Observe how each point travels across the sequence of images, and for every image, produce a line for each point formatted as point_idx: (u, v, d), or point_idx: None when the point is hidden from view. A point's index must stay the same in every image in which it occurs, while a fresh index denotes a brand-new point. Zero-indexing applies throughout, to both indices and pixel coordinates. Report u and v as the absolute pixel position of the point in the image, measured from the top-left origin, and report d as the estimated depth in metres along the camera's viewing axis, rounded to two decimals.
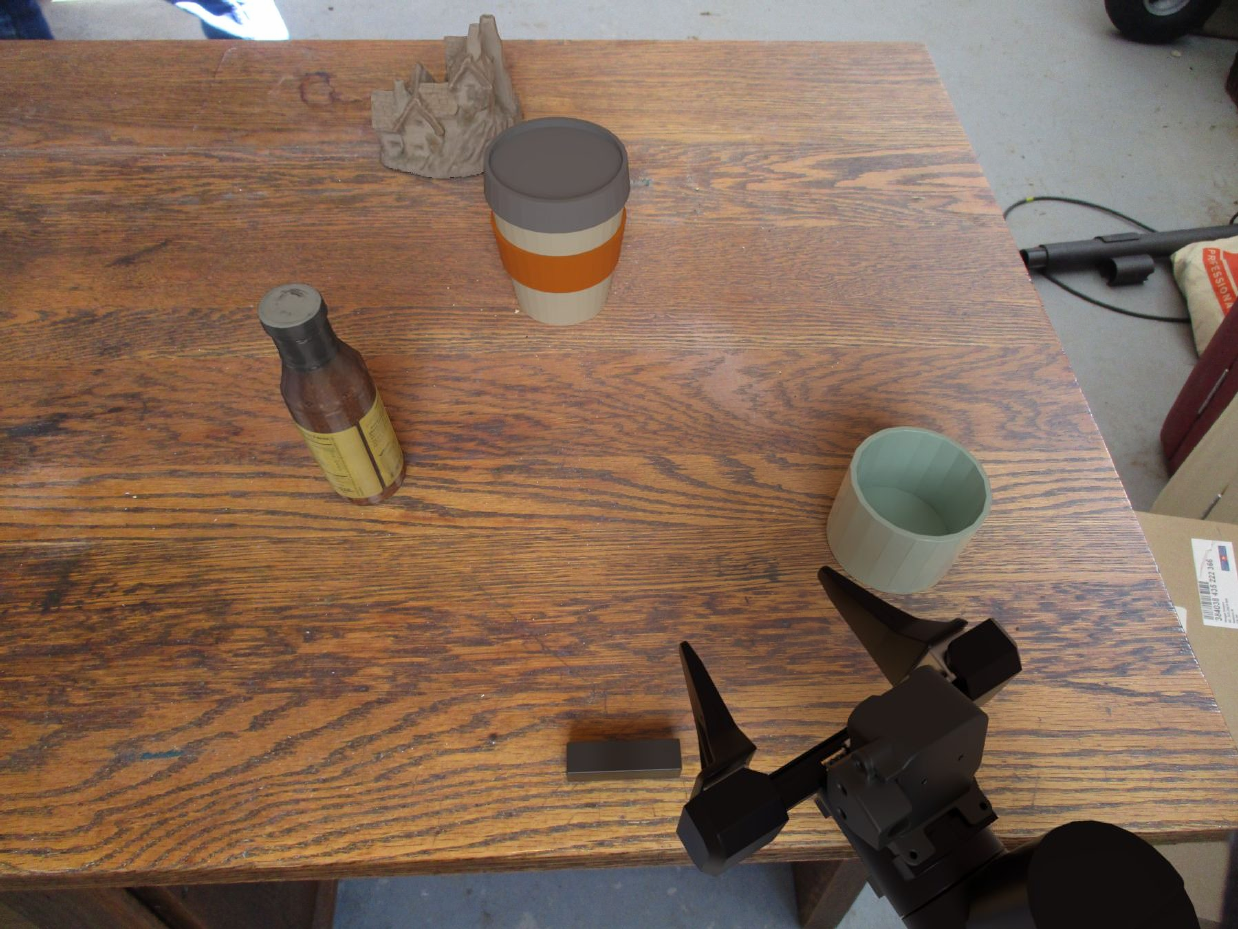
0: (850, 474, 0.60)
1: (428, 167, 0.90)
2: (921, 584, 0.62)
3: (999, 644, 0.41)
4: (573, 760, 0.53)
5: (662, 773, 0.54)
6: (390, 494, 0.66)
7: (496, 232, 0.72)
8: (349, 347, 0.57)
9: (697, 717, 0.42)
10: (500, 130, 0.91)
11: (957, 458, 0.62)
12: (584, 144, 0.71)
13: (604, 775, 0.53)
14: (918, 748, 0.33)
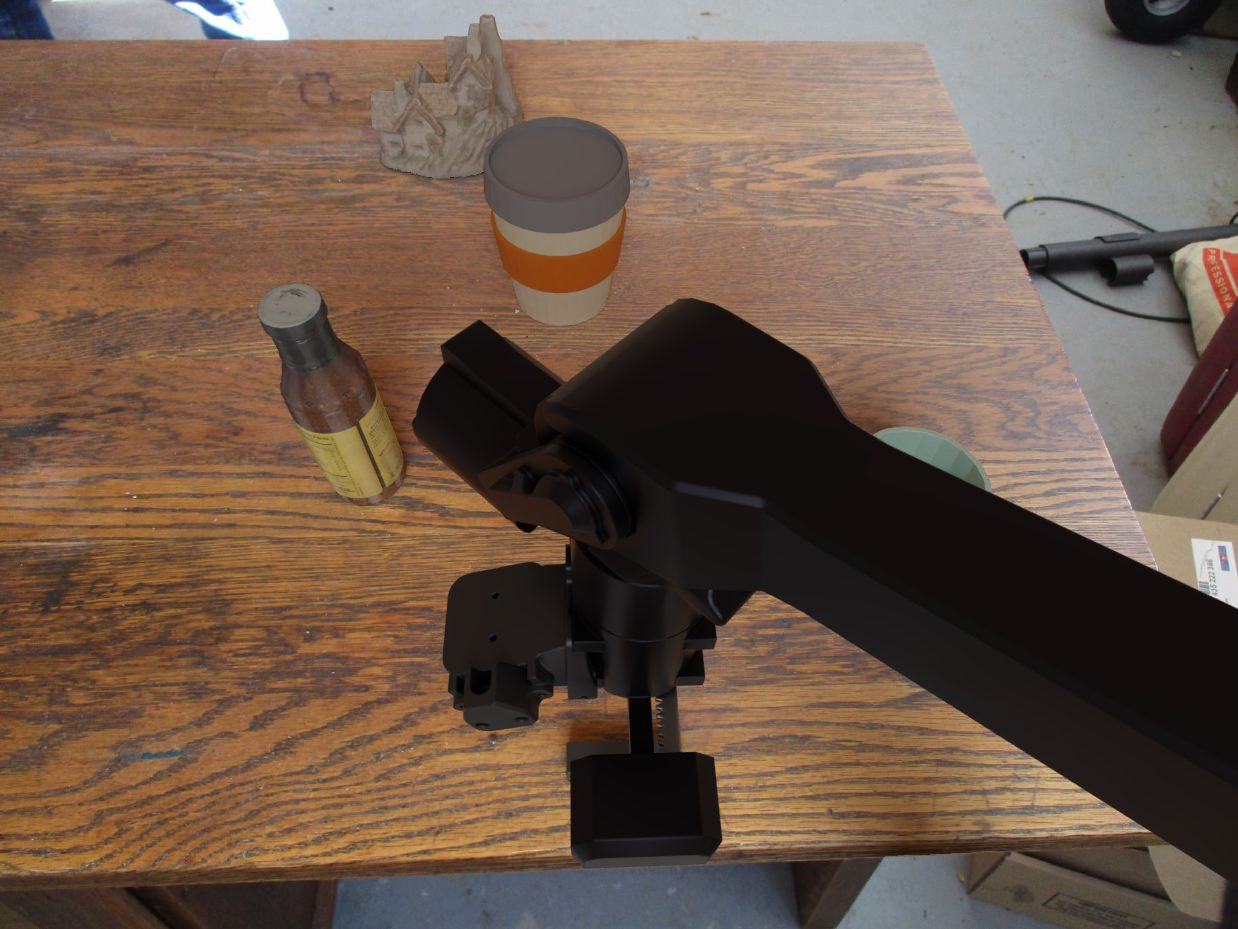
0: None
1: (428, 167, 0.90)
2: None
3: None
4: None
5: None
6: (390, 494, 0.66)
7: (496, 232, 0.72)
8: (349, 347, 0.57)
9: None
10: (500, 130, 0.91)
11: (957, 458, 0.62)
12: (584, 144, 0.71)
13: None
14: (444, 655, 0.36)
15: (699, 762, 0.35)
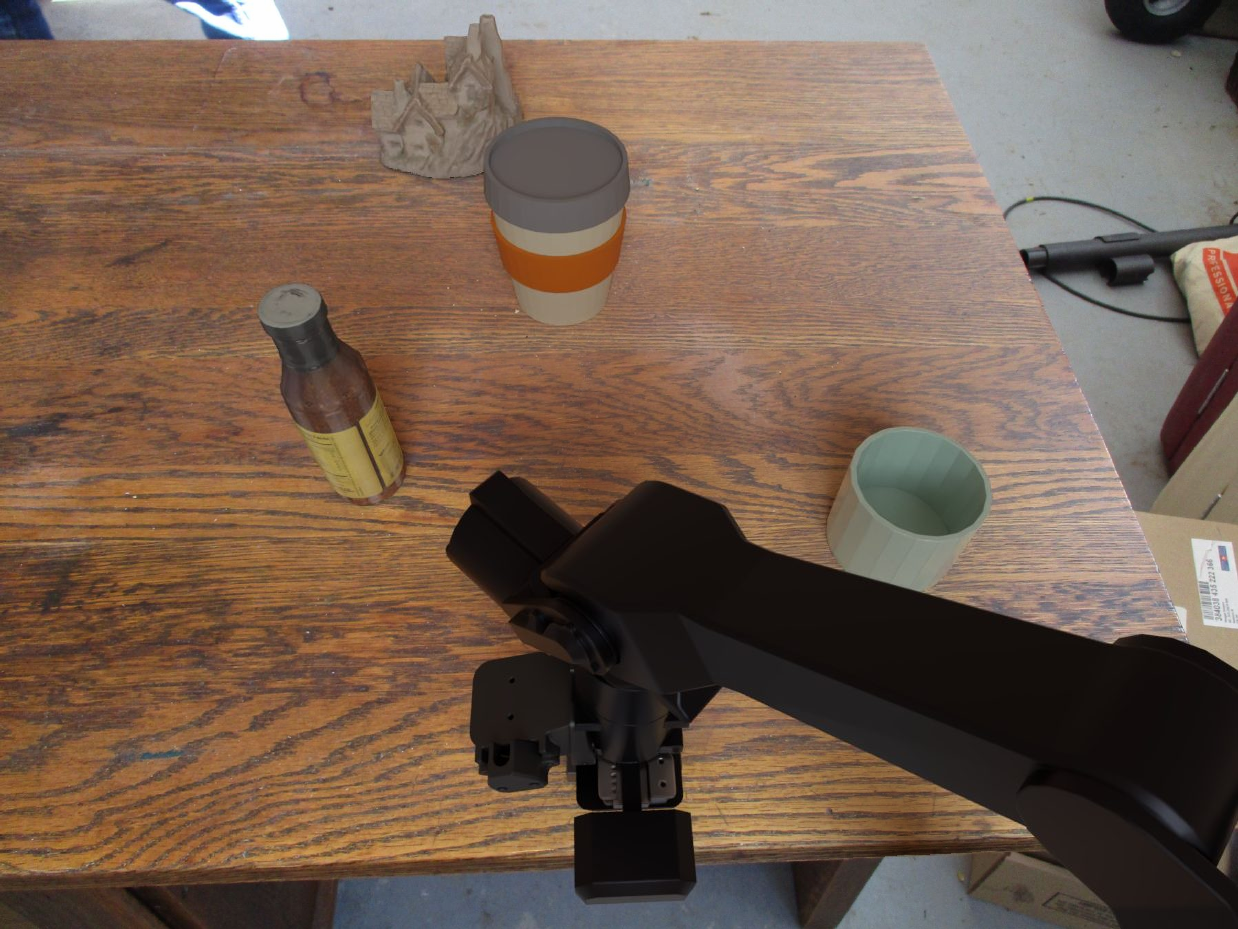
0: (850, 474, 0.60)
1: (428, 167, 0.90)
2: (921, 584, 0.62)
3: None
4: None
5: None
6: (390, 494, 0.66)
7: (496, 232, 0.72)
8: (349, 347, 0.57)
9: None
10: (500, 130, 0.91)
11: (957, 458, 0.62)
12: (584, 144, 0.71)
13: None
14: (470, 730, 0.44)
15: (678, 818, 0.43)
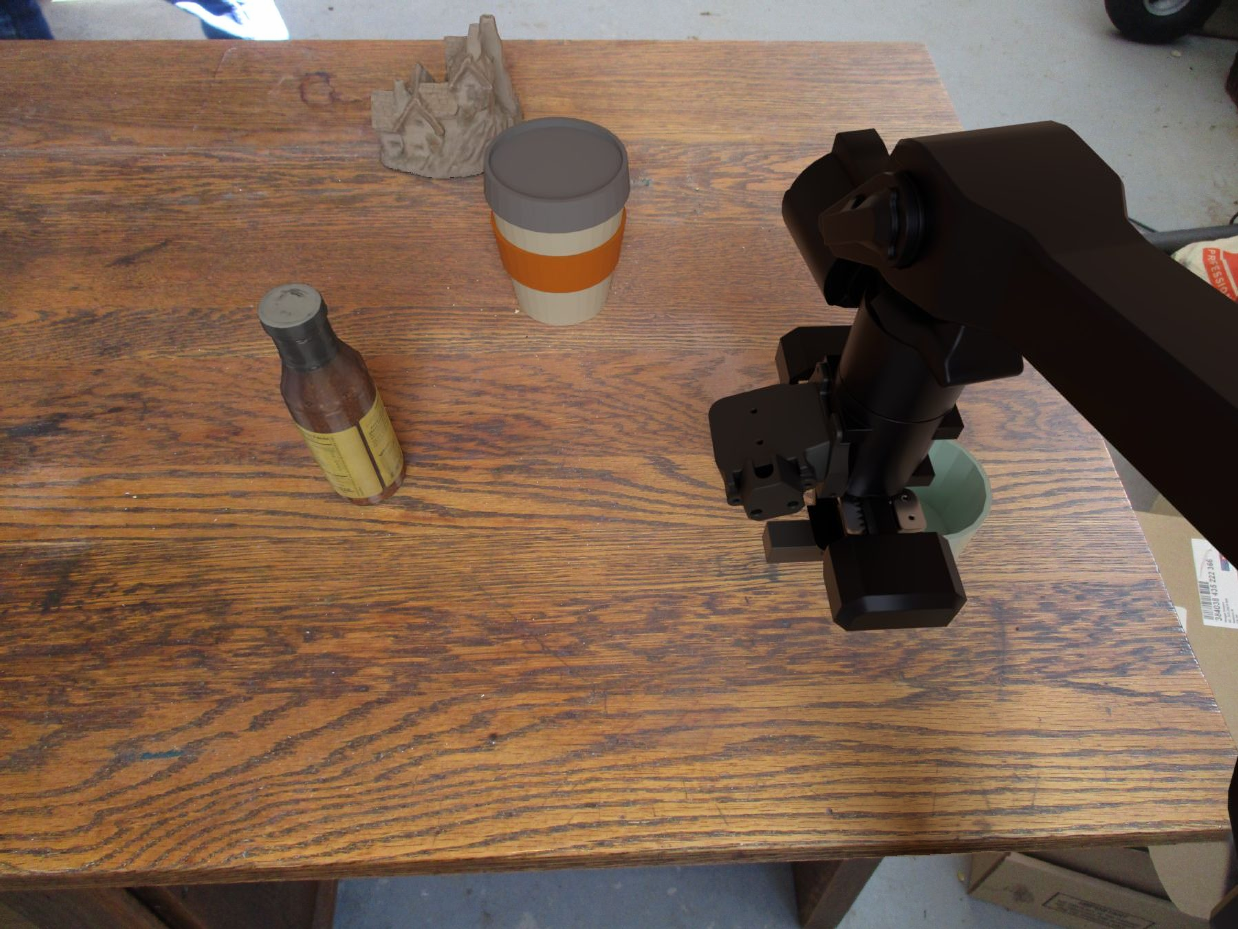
0: None
1: (428, 167, 0.90)
2: None
3: (780, 350, 0.50)
4: (777, 536, 0.51)
5: None
6: (390, 494, 0.66)
7: (496, 232, 0.72)
8: (349, 347, 0.57)
9: None
10: (500, 130, 0.91)
11: (957, 458, 0.62)
12: (584, 144, 0.71)
13: (808, 552, 0.52)
14: (715, 460, 0.42)
15: (940, 540, 0.41)
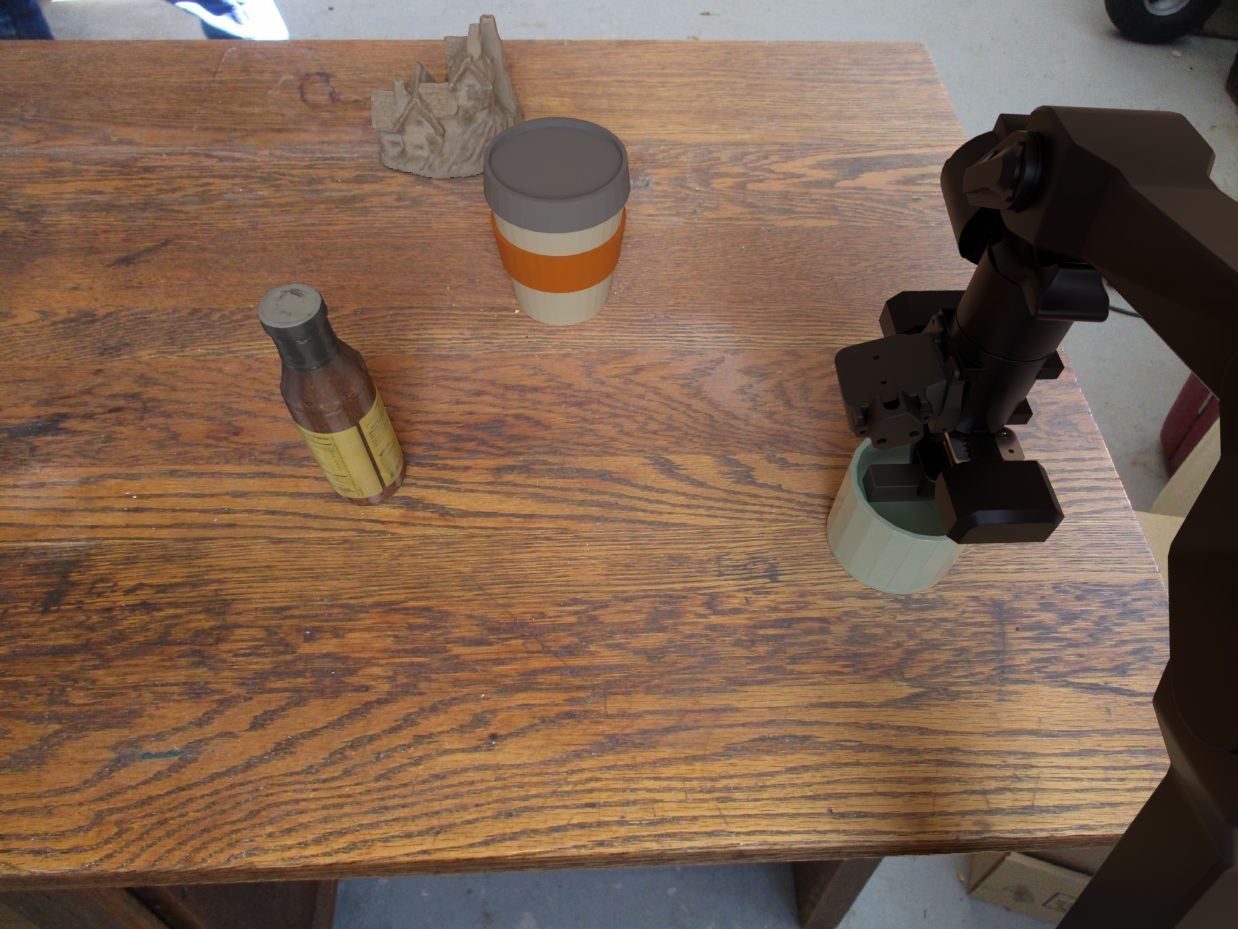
0: (850, 474, 0.60)
1: (428, 167, 0.90)
2: (921, 584, 0.62)
3: (885, 312, 0.57)
4: (879, 476, 0.58)
5: None
6: (390, 494, 0.66)
7: (496, 232, 0.72)
8: (349, 347, 0.57)
9: None
10: (500, 130, 0.91)
11: None
12: (584, 144, 0.71)
13: (906, 492, 0.58)
14: (843, 398, 0.49)
15: (1040, 467, 0.48)
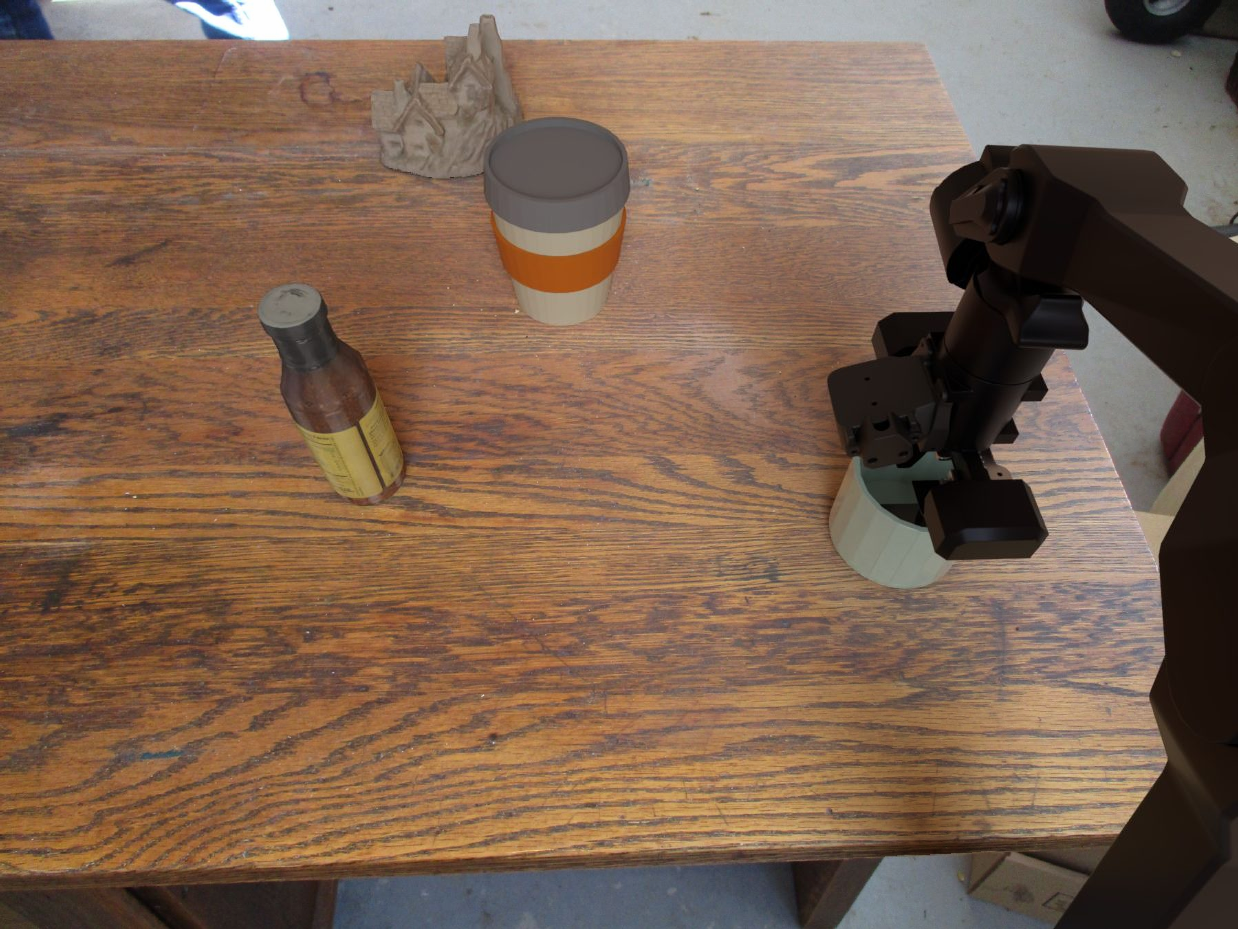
0: (853, 466, 0.59)
1: (428, 167, 0.90)
2: (925, 578, 0.61)
3: (877, 332, 0.58)
4: None
5: None
6: (390, 494, 0.66)
7: (496, 232, 0.72)
8: (349, 347, 0.57)
9: None
10: (500, 130, 0.91)
11: None
12: (584, 144, 0.71)
13: None
14: (835, 418, 0.51)
15: (1025, 485, 0.49)
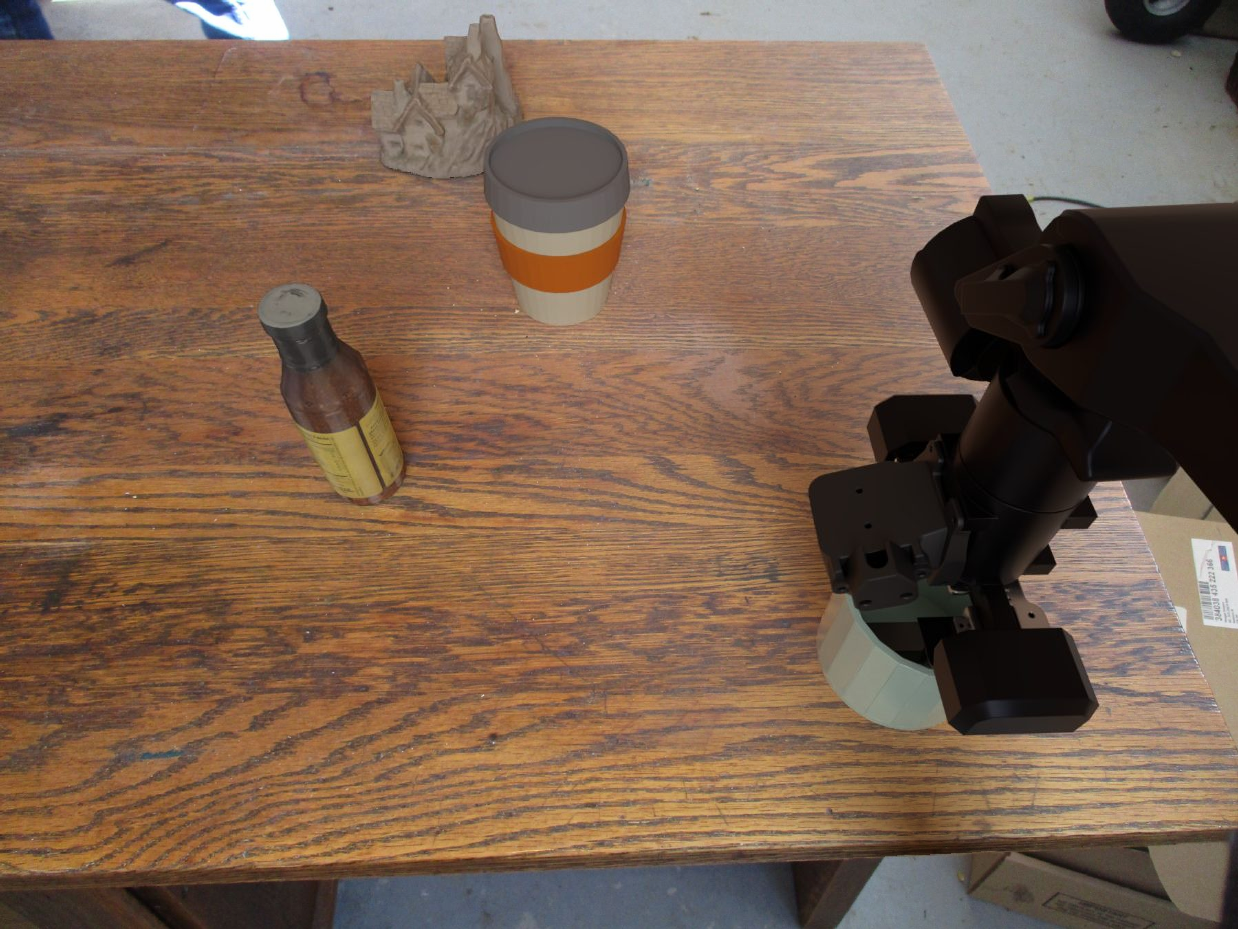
0: None
1: (428, 167, 0.90)
2: (934, 720, 0.49)
3: (874, 419, 0.47)
4: None
5: None
6: (390, 494, 0.66)
7: (496, 232, 0.72)
8: (349, 347, 0.57)
9: None
10: (500, 130, 0.91)
11: None
12: (584, 144, 0.71)
13: None
14: (818, 543, 0.39)
15: (1066, 637, 0.38)
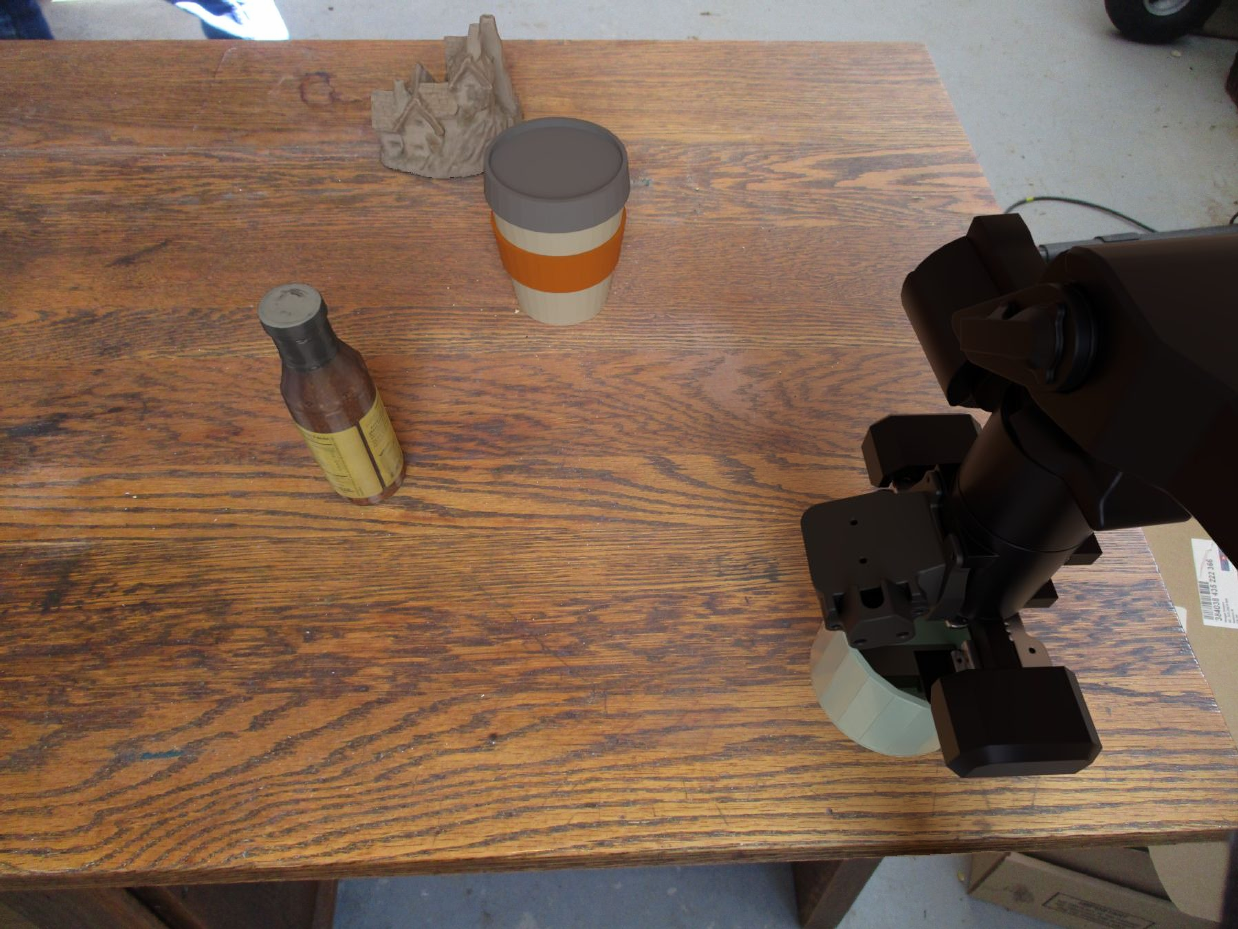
0: None
1: (428, 167, 0.90)
2: (931, 747, 0.48)
3: (869, 440, 0.45)
4: None
5: None
6: (390, 494, 0.66)
7: (496, 232, 0.72)
8: (349, 347, 0.57)
9: None
10: (500, 130, 0.91)
11: None
12: (584, 144, 0.71)
13: None
14: (811, 578, 0.38)
15: (1069, 675, 0.36)
